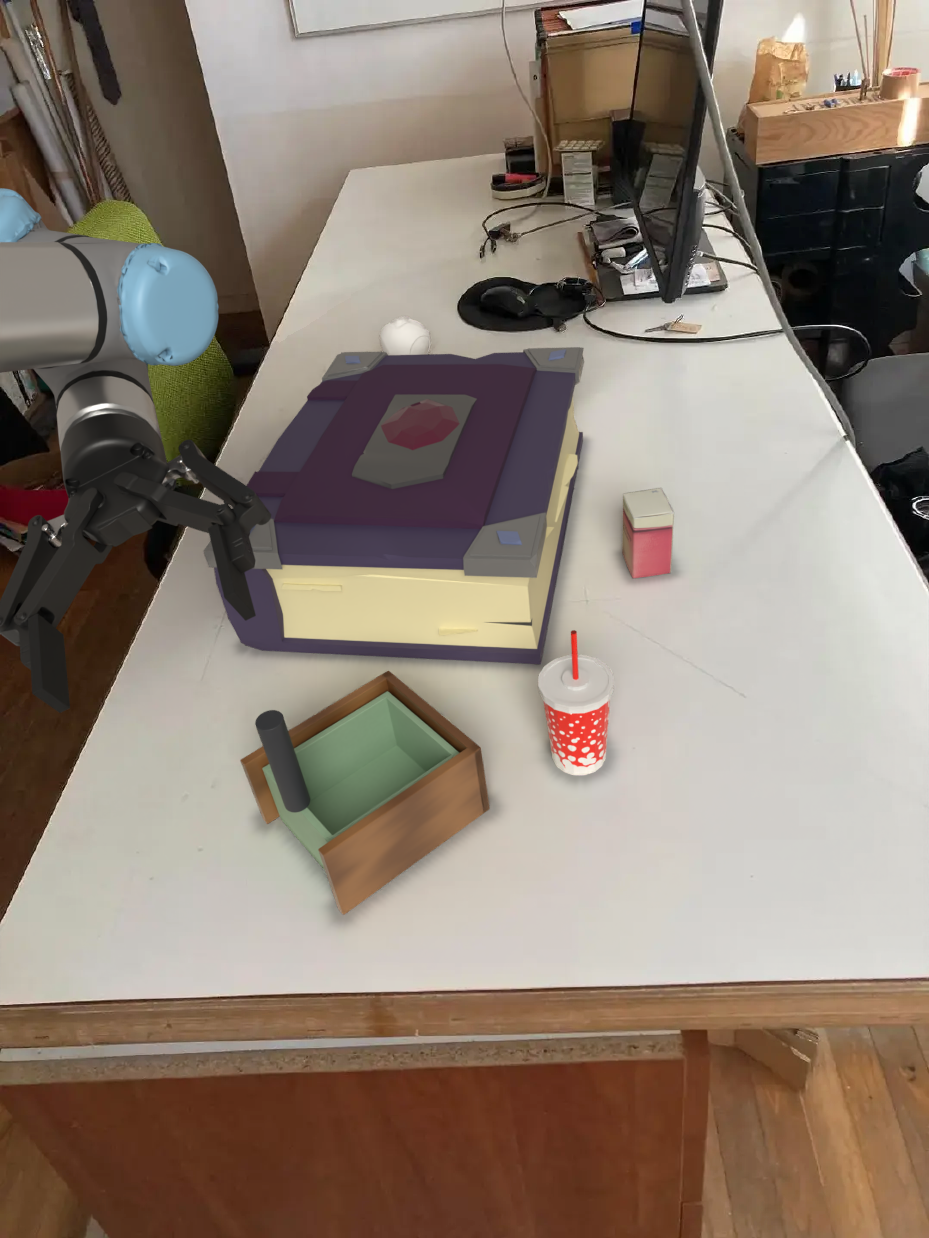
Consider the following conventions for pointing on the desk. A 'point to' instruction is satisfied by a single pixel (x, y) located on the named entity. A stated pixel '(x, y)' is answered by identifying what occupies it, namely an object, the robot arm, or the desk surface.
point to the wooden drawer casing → (402, 822)
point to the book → (417, 509)
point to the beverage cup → (577, 709)
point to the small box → (647, 532)
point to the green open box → (347, 767)
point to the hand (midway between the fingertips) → (145, 654)
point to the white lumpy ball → (405, 337)
